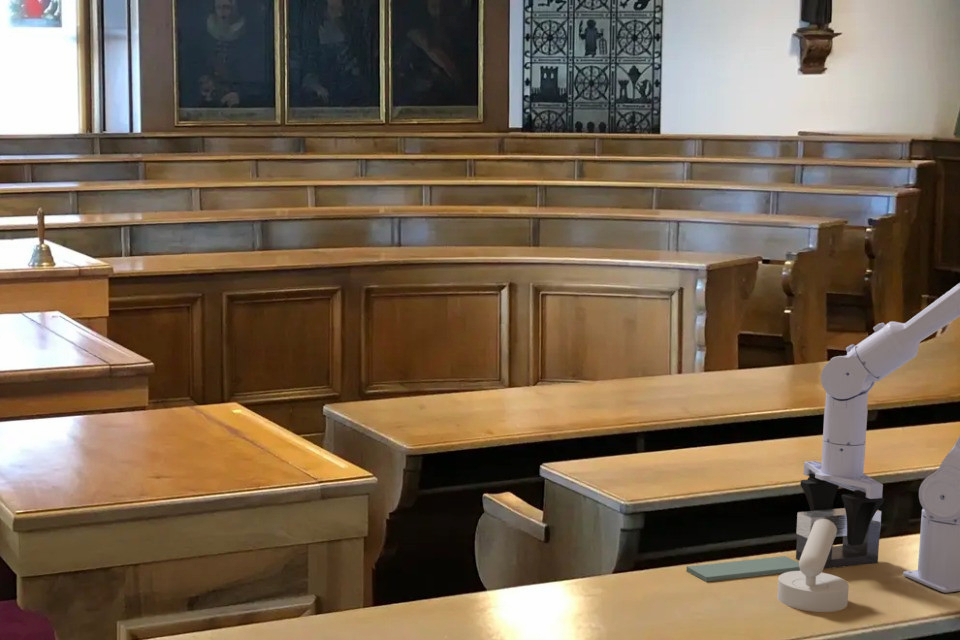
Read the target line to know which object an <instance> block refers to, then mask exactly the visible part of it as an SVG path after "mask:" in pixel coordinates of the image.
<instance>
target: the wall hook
mask: <svg viewBox="0 0 960 640" xmlns="http://www.w3.org/2000/svg"><path fill="white" fill-rule="evenodd" d="M836 533H837V528H836V526H835V524H834V523H833V522H831V521H829V520H827V519H819V520H817V521H815V522H814V524H813V527H812V530H811V532H810V535H809V537H808V540H807V542H806V545H805V547H804V550H803V552H802V555H801V558H800V560H798V562H799V568H800V570H801V571H791V572H786V573H780V575H779V576H778V578H777V580H778V581H777V595H776V596H777V597H776V598H777V600H778V601H779V602H780V603H782V604H783V605H786V606H787V607H790V608H793V609H797V610H801V611H806V612H807V611H808V612H817V613H832V612H833V613H834V612H838V610H839V611H842V610H844V609H846V608H847V607H848V604H849V603H848V601H849V600H848V599H849V583H848V582H847V581H846V580H845V579H843V578H841V577H839V576H837V575H833V574H830V573H826V572H823V571H824V569H823V568H824V566H825V563H826V560H827V558H828V555H829V552H830V550H831V547H832V546H833V545H834V541H835V539H836V537H835V536H836ZM832 544H833V545H832ZM846 606H847V607H846ZM845 607H846V608H845ZM841 609H842V610H841Z"/></svg>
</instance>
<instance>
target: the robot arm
mask: <svg viewBox="0 0 960 640" xmlns="http://www.w3.org/2000/svg"><path fill="white" fill-rule="evenodd" d="M959 318H960V282H959V283H957V284H956V285H955V286H953V287H952V288H951V289H950V290H948V291H946V292H945V293H944V294H942V295H941V296H940V297H939V298H937V299H935V300H934V301H933V302H932V303H930V304H929V305H928V306H926V307H925V308H923V309H922V310H921V311H919V312H918V313H916V314H915V315H914V316H913V317H912V318H910V319H909V320H908V321H906V322H898V321H889V322H887V323H886V324H885V323H884V322H881V323H878V324H876V325H875V326H873V328H872V329H873V331H874V332H873V333H872V334H870V335H868V336H867V337H866V338H864V339H862V340H861V341H860V342H858V343H857V344H856V345H855V344H854V343H851V344H850V345H848V346H847V347H846V348H845V351H846V355H838V356H834V357H832V358H830V360H829V361H828V362H827V363H826V364H825V365H824V366H823V368H822V371H821V373H820V382H821V386H822V389H824V391H825V403H824V413H823V430H822V431H823V433H822V446H821V447H822V448H821V450H822V451H821V461H817V460H810V461H804V462H803V476H806V477H808V478H807V479H802V480H800V483H799V484H800V488H801V489H802V490H803V493H804V494H805V497H806V499H807V504H808V507H809V511H818V510H829V509H833V506H834V502H835V498H836V494H837V492H838V490H839V487H841V488H844V489H847V490H849V491H852V492H854V493H847V494H846V493H845V494H841V500H842V503H843V505H844V506H843V507H844V508H845V511H846V517H847V540H848V544H849V545H852V546H853V545H862V544H863V542H864V539H865V536H866V533H867V530H868V528H869V525H870V523H871V520H872V518H873V516H874V515H875V513H876V511H877V510H879V509H880V507H881V506H882V504H883V503H884V496H883V489H884V488H883V487H884V485H883V484H884V483H881V482H879V481H876V480H875V479H874V478H872V477H870V476H869V475H868V474H866V473H865V472H864V471H865V455H866V440H867V439H866V437H867V425H868V424H867V423H868V404H869V403H868V401H869V392H870V391H871V390H872V389H873V387H874V386H875V384H876V382H880V381H881V380H883V379H884V378H886V377H888V376H889V375H891V374H892V373H894V372H895V371H897V370H898V369H900V368H901V367H902V366H904V365H906V364H907V363H908V362H910V361H911V360H913V359H914V358H916V357H917V356H918V353H919V349H920V348H919V347H920V344H921V342H922V341H924V340H925V339H926V338H928V337H930V336H931V335H933V334H934V333H936V332H938V331H939V330H941V329H943V328H945V326H947V325H949V324H951V323H952V322H954V321H955V320H956V319H959ZM918 499H919V503H920V506H921V507H922V509H921V518H920V519H921V520H920V532H919V533H920V534H919V547H918V563H917V569H916V570H915V569H914V570H906V571H903V572H902V575H903V576H904V577H907V578H908V579H911V580H913V581H915V582H917V583H920V584H922V585H925V586H928V587H930V588H932V589H934V590H936V591H939V592H941V593H944V594H945V593H954V592H960V435H959V436H958V438H957V440H956V442H955V443H954V445H953V447H952V448H951V449H950V450H949V452H948V453H947V454H946V456H945V457H944V458H943V460H941V463H940V465H939V467H938V468H937V469H936V470H935V472H933V473H931V474H929V475H928V476H926V478H925V479H923V480H922V482H921V483H920V486H919V488H918Z"/></svg>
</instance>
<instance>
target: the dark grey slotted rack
mask: <svg viewBox="0 0 960 640" xmlns="http://www.w3.org/2000/svg"><path fill="white" fill-rule="evenodd" d="M880 533H881V525H880V522H878V521H871V523H870V525H869V528H868V530H867V533H866V536H865V539H864V542H863V544H862V545H853V546H852V545H849V544H848V540H847V536H842V545H836V546H834V543H833V544H832V547H831V550H830V552H829V555H828V558H827V560H826V563H825V566H824V568H823V570H826V569H834V568H833V567H836V568H844V567H843V566H845V567H851V566H863V565H869V564H870V565H871V564H878V563H879V550H880V549H879V547H880V535H881V534H880ZM796 535H797V536H796V549H795V559H796V560H798V561H799V560H800V558H801V555H802V552H803V550H804V547H805V545H806V542H807V540H808V538H806V537H803V536H801V535H799V534H796Z"/></svg>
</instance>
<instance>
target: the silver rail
mask: <svg viewBox="0 0 960 640" xmlns="http://www.w3.org/2000/svg"><path fill="white" fill-rule="evenodd" d="M796 517H797V518H796V535H797V534H799V535H801V536H803V537H806V538H808V537H809V535H810V532H811V530H812V527H813V524H814V522H815V521H817V520H819V519H827V520H829V521H831V522H833V523H834V524H835V526H836V528H837V533H836V536H835V538H836V537H843V536H847V517H846V511H845V507H843V508H841V507H840V508H832V509H829V510H818V511H810V510H809V511H798V512H797V515H796ZM871 521H878V522H880V526H881V525H882V523H881V522H882V510H879V509H878V510H877V511H876V513H875V515H874V516H873V518H872V520H871Z"/></svg>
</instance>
